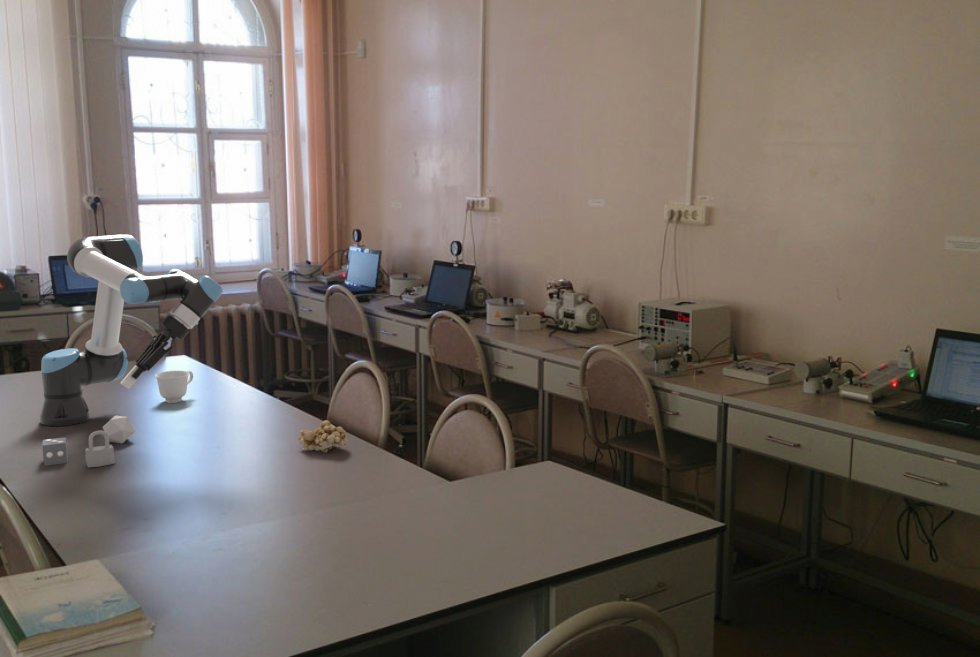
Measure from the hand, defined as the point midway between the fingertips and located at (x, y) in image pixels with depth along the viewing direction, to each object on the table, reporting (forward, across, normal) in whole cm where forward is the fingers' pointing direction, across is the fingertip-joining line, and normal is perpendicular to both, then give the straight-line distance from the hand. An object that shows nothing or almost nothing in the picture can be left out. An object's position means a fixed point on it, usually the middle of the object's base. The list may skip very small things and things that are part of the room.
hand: (124, 386), depth 258 cm
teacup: (-7, +64, -38) cm, 75 cm away
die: (+14, +22, -17) cm, 31 cm away
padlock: (+21, +2, -10) cm, 24 cm away
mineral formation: (-20, -22, -52) cm, 60 cm away
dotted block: (+28, +12, -3) cm, 31 cm away
